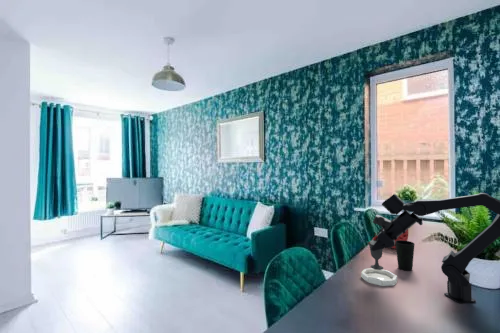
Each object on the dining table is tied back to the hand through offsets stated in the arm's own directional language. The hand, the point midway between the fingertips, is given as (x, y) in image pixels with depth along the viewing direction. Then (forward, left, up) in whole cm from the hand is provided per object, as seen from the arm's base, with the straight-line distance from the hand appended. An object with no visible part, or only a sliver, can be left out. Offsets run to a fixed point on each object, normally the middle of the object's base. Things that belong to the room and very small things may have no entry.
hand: (372, 247), depth 111 cm
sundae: (-1, -1, -8) cm, 8 cm away
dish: (-1, -2, -13) cm, 13 cm away
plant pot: (+39, -38, -13) cm, 56 cm away
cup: (+8, -21, -13) cm, 26 cm away
